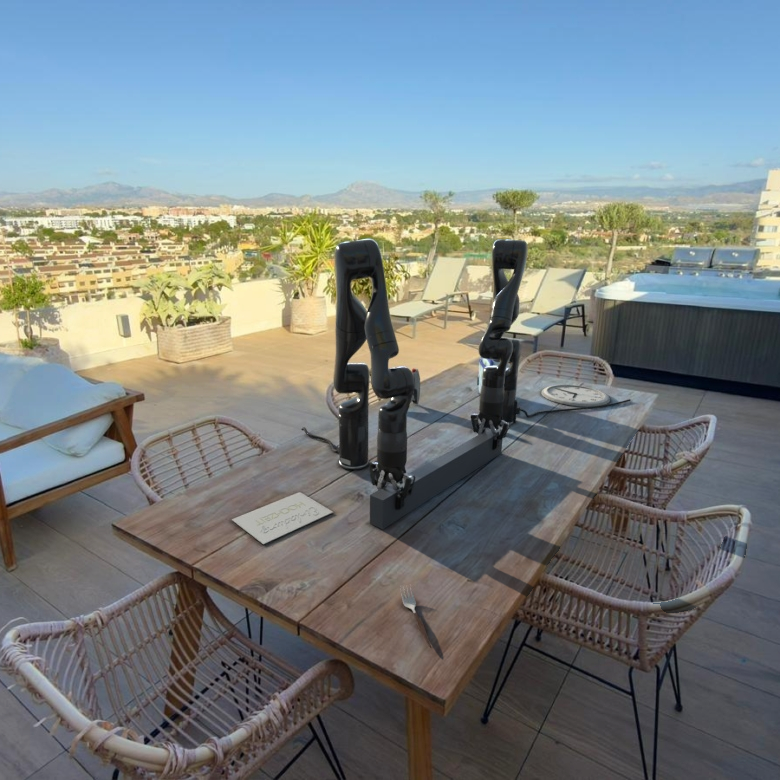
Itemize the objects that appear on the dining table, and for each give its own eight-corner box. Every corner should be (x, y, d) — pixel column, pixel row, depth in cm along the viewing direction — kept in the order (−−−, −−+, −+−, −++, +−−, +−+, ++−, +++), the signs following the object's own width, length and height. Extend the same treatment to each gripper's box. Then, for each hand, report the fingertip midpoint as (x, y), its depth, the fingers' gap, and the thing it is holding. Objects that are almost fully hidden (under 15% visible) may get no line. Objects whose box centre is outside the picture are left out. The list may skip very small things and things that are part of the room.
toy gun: (394, 376, 210) (415, 366, 221) (395, 413, 216) (416, 402, 227) (399, 377, 209) (420, 367, 220) (400, 414, 215) (420, 403, 226)
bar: (490, 449, 180) (491, 427, 178) (501, 453, 178) (503, 430, 175) (369, 523, 134) (369, 494, 132) (382, 529, 132) (382, 500, 129)
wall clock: (623, 402, 226) (556, 403, 224) (623, 406, 227) (556, 407, 224) (592, 383, 255) (532, 383, 252) (591, 386, 255) (532, 386, 253)
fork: (423, 651, 94) (424, 642, 93) (398, 593, 109) (398, 585, 108) (437, 648, 95) (437, 639, 94) (410, 591, 109) (411, 583, 109)
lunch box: (475, 390, 246) (478, 346, 240) (498, 390, 246) (501, 347, 240) (484, 408, 221) (487, 360, 215) (509, 409, 221) (513, 360, 215)
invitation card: (299, 491, 149) (333, 511, 139) (299, 492, 149) (333, 512, 139) (231, 519, 134) (263, 543, 124) (231, 520, 134) (263, 544, 124)
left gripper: (360, 442, 133) (360, 501, 138) (405, 457, 124) (403, 520, 129) (380, 433, 138) (379, 491, 143) (423, 448, 130) (421, 509, 135)
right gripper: (466, 396, 170) (463, 444, 175) (506, 406, 161) (501, 456, 167) (478, 391, 176) (475, 438, 181) (517, 400, 167) (512, 449, 172)
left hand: (390, 504), depth 136 cm, fingers open, 5 cm apart
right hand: (488, 447), depth 174 cm, fingers closed on bar, 4 cm apart
